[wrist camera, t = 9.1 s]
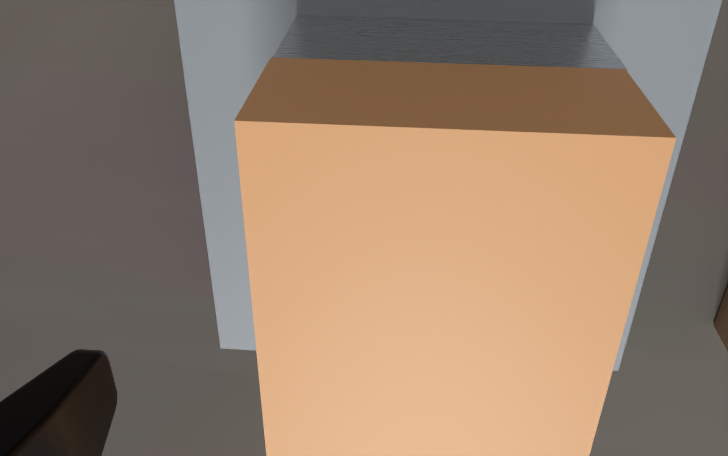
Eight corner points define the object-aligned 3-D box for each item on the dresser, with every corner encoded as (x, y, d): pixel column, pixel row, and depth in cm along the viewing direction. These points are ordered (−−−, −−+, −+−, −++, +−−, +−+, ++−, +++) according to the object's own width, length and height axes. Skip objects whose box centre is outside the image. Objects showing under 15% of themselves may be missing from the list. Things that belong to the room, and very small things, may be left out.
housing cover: (554, 396, 14) (576, 500, 12) (291, 380, 15) (269, 479, 12) (626, 69, 11) (676, 137, 8) (270, 57, 11) (234, 120, 9)
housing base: (537, 318, 16) (555, 396, 14) (308, 306, 17) (292, 380, 15) (592, 23, 13) (627, 69, 11) (296, 15, 13) (272, 57, 11)
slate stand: (699, -79, 13) (738, -61, 12) (600, 319, 19) (618, 370, 17) (195, -90, 14) (164, -73, 12) (238, 300, 19) (220, 348, 18)
